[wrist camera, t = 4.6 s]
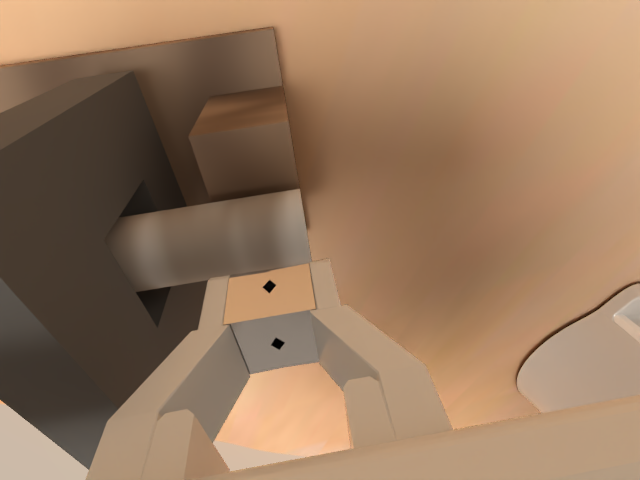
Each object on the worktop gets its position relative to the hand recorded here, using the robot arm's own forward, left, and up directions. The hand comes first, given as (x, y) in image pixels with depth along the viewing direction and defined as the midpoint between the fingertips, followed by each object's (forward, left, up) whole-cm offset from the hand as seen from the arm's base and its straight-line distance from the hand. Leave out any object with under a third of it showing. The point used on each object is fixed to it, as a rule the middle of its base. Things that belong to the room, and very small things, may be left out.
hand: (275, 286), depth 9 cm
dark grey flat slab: (+5, 0, -7) cm, 9 cm away
